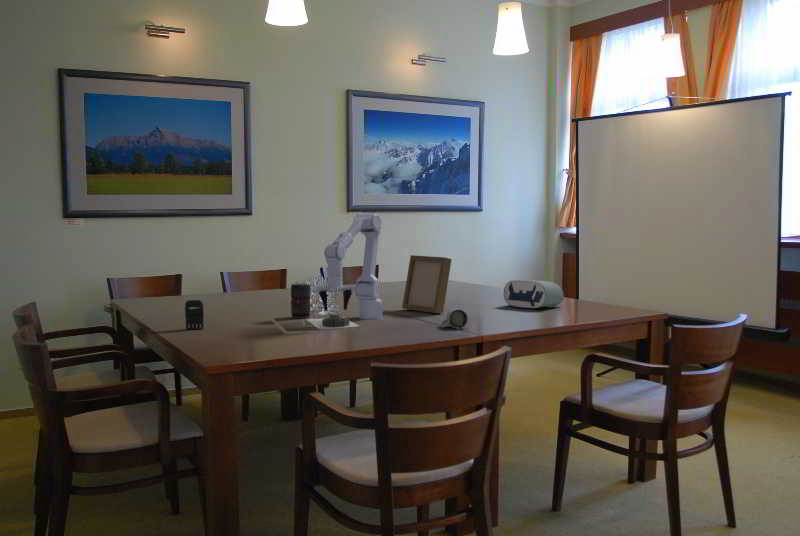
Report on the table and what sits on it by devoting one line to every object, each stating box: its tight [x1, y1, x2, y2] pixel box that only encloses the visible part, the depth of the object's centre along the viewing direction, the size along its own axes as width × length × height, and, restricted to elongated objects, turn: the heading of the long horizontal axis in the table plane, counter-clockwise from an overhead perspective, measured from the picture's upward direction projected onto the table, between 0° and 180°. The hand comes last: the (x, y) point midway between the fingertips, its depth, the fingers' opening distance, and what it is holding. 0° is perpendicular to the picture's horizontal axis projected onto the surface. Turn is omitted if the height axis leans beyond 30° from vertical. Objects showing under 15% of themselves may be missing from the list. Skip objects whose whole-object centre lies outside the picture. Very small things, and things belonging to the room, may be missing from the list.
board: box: [305, 316, 361, 332], centre depth 272 cm, size 16×24×3 cm, turn 19°
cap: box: [328, 313, 343, 321], centre depth 266 cm, size 5×5×4 cm
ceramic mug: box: [438, 307, 469, 330], centre depth 265 cm, size 11×8×8 cm
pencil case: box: [503, 279, 565, 309], centre depth 322 cm, size 22×19×13 cm
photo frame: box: [401, 254, 453, 315], centre depth 309 cm, size 15×22×25 cm
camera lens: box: [290, 283, 311, 320], centre depth 285 cm, size 8×8×15 cm
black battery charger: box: [184, 299, 205, 330], centre depth 263 cm, size 7×4×11 cm, turn 106°
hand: (335, 310), depth 266 cm, fingers open, 7 cm apart
